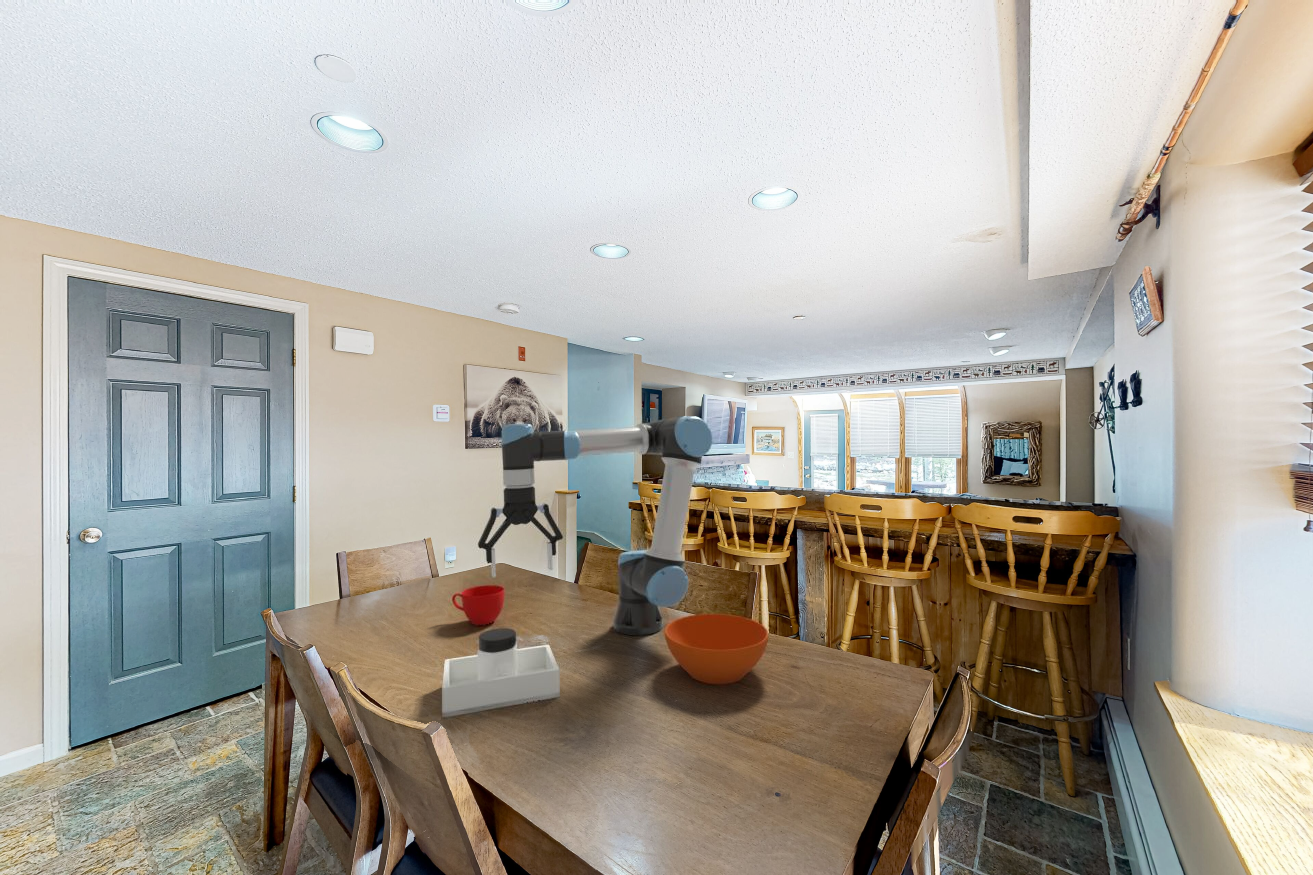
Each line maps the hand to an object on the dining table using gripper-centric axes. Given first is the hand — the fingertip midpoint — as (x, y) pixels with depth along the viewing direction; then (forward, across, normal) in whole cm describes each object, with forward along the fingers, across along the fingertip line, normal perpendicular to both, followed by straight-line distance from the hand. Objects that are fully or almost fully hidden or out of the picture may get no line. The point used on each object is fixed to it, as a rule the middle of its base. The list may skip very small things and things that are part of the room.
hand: (522, 572), depth 128 cm
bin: (+24, +7, +8) cm, 26 cm away
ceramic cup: (+24, +9, -44) cm, 51 cm away
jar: (+23, +7, +9) cm, 26 cm away
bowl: (+26, -43, +19) cm, 53 cm away
